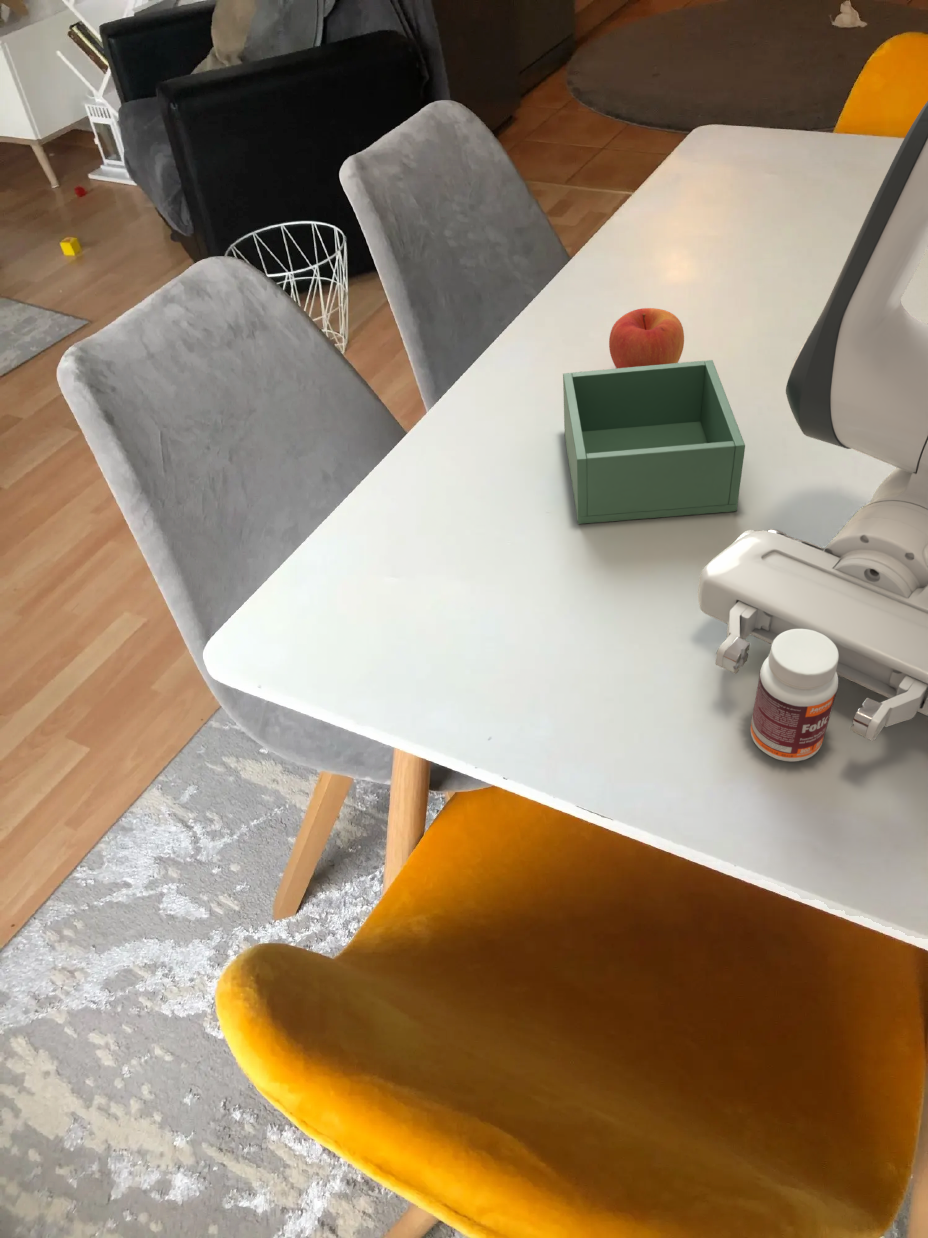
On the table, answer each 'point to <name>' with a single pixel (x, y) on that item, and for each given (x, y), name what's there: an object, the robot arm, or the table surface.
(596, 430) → the bin
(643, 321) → the apple
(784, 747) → the pill bottle
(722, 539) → the table surface
